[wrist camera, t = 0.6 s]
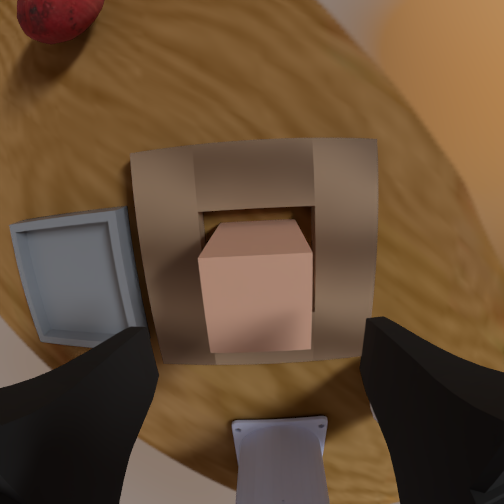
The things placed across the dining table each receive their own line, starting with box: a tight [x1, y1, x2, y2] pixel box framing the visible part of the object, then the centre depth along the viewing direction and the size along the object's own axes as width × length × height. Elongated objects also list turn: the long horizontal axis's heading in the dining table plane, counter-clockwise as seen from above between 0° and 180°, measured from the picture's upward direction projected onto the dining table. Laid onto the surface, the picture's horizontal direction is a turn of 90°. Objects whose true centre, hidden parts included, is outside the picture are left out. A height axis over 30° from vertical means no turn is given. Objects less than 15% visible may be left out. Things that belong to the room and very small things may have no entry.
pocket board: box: [130, 138, 378, 365], centre depth 19 cm, size 14×14×2 cm
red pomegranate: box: [17, 0, 104, 44], centre depth 11 cm, size 6×6×8 cm
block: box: [198, 219, 313, 353], centre depth 16 cm, size 4×4×7 cm
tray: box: [9, 206, 151, 348], centre depth 20 cm, size 10×10×2 cm
